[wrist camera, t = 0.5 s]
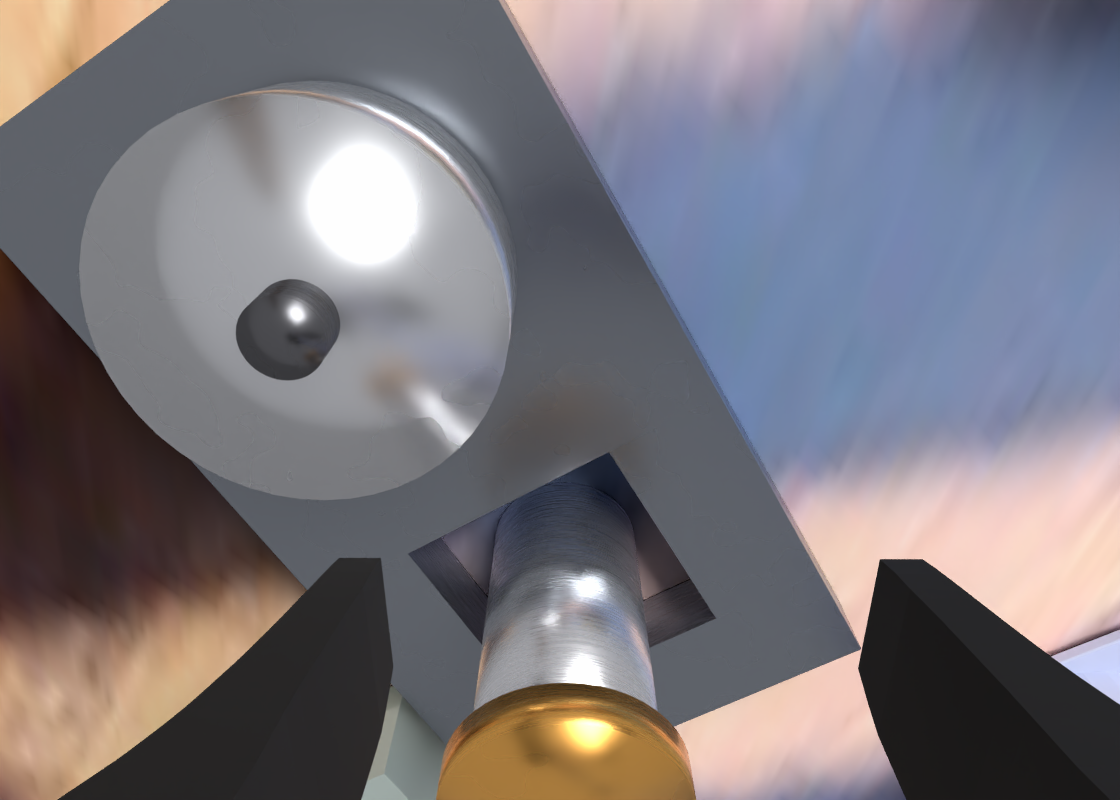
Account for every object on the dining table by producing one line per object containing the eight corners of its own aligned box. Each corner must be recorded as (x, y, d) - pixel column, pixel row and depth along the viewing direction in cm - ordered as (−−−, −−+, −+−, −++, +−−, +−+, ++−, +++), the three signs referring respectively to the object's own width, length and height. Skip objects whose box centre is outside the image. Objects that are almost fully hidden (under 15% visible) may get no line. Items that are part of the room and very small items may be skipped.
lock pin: (681, 567, 24) (741, 852, 16) (535, 634, 25) (522, 932, 17) (598, 437, 22) (618, 685, 14) (444, 516, 23) (381, 787, 15)
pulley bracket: (839, 601, 25) (917, 769, 19) (500, 747, 27) (484, 931, 22) (419, -154, 17) (350, -231, 11) (-6, 159, 19) (-230, 219, 14)
